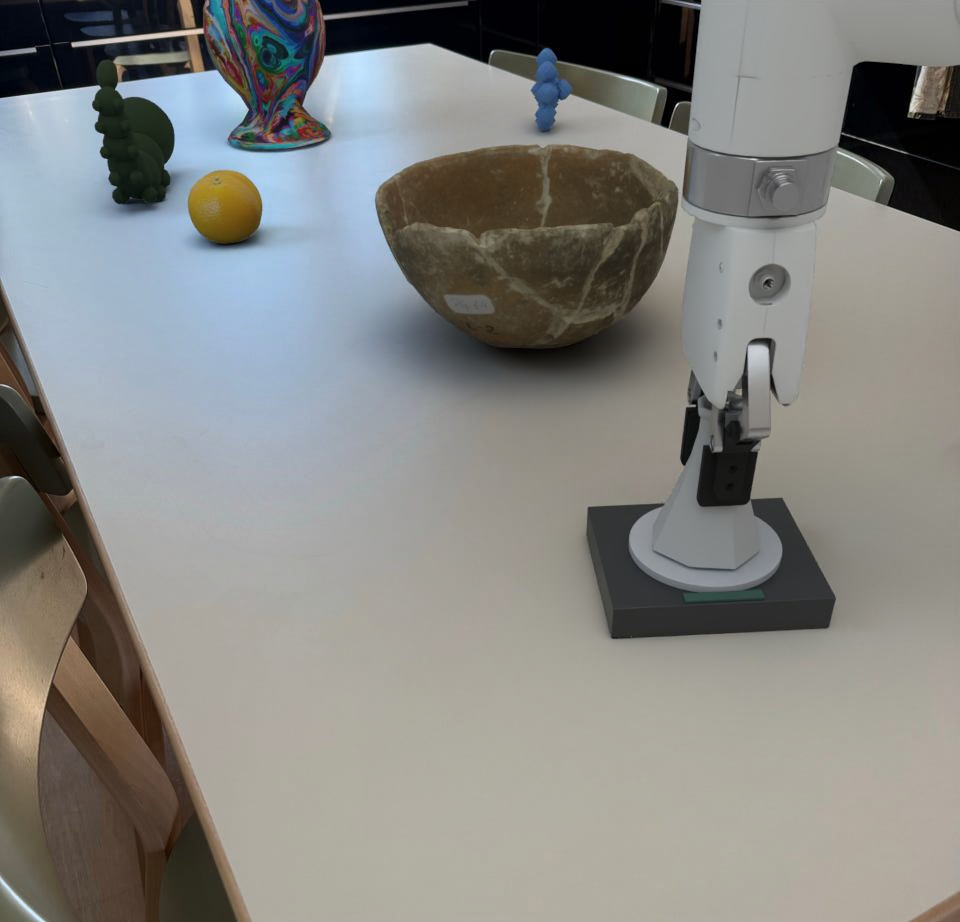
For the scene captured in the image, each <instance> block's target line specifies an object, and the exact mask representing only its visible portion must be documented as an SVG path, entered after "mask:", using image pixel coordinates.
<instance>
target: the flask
mask: <svg viewBox="0 0 960 922" xmlns="http://www.w3.org/2000/svg"><path fill="white" fill-rule="evenodd" d="M739 395H740V394H738V393H732V392H728V394H727V396H739ZM698 412H699V416H700V417H701V418H700V425H699V431H698V434H697V437H696V440H695V443H694V446H693V449H692V453H691V455H690V457H689V459H688V461H687V463H686V465H685V466H683V469H682V470H681V473H680V475H679V477H678V479H677V481H676V483H675V484H674V486H673V489H672V490H671V492H670V494H669V496H668V497H667V499H666V501H665V502H664V503H665V504H664V506H663V508H662V510H661V511H660V513H659V515H658V517H657V519H656V521H655V523H654V525H653V550H655V551H657V552H659V553H661V554H663V555H665V556H667V557H670V558H672V559H674V560H676V561H678V562H680V563H682V564H684V565H686V566H689V567H702V568H720V569H736V568H737V567H739V566H740V565H741V564H743V563H744V562H745V561H747V560H748V559H749V558H751V557H752V556H753V555H754V554H756V553H757V552H758V551H760V548H759V541H758V534H757V527H756V522H755V517H754V513H753V509H752V505H751V500H750V501H749V502H748V503H747V504H745V505H737V506H715V507H701V506H700V505H699V504H698V502H697V499H696V497H697V489H698V482H699V474H700V466H701V459H702V451H703V445H710V429H711V416H712V403H711V402H710V401H709V400H708V399H707V397H706V396H705V395H703V396H702V397H700V398H698ZM741 415H742V411H726V420H725V427H726V426H727V425H728V424H729V423H730V421H738V420H739V419H740V418H741Z"/></svg>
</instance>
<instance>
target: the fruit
mask: <svg viewBox="0 0 960 922" xmlns="http://www.w3.org/2000/svg"><path fill="white" fill-rule="evenodd" d="M263 207H264V206H263V200H262V196H261V193H260V191H259V189H258V187H257V186H256V185H255V183H254V182H253V181H252V180H251V179H250V178H249V177H247V175H245V174H243V173H241V172H239V171H235V170H229V169H219V170H214V171H211V172H209V173H207V174H205V175H204V176H202V177H201V178H200V179H199V180H197V181H196V182H195V183H194V184H193V186H192V187H191V188H190V191H189V193H188V197H187V209H188V215H189V218H190V221H191V223H192V225H193V226H194V228H195V230H196V231H197V232H198V233H199V234H200V236H203V237H204V238H205V239H207V240H209V241H211V242H214V243H217V244H222V245H223V244H224V245H225V244H236V243H239V242H242V241H244V240H247V239H249V238H250V237H252V236H253V235H254V234H255V233H256V231H257V230H259V228H260V225H261V220H262V216H263Z"/></svg>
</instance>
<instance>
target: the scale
mask: <svg viewBox="0 0 960 922" xmlns="http://www.w3.org/2000/svg"><path fill="white" fill-rule="evenodd" d="M750 500H751V505H752V509H753V513H754V517H755V522H756V527H757V534H758V541H759V548H760V551H758V552H757V553H756V554H754V555H753V556H752V557H751V558H749V559H748V560H747V561H745V562H744V563H743V564H741V565H740V566H739V567H737V568H736V569H720V568H702V567H689V566H686V565H684V564H682V563H680V562H678V561H676V560H674V559H672V558H670V557H667V556H665V555H663V554H661V553H659V552H657V551H655V550H653V525H654V523H655V521H656V519H657V517H658V515H659V513H660V511H661V510H662V508H663V506H664V504H665V503H666V502H660V503H659V502H658V503H638V504H637V503H636V504H615V505H598V506H597V505H596V506H588V507H587V512H586V513H587V514H586V531H585V534H586V539H587V544H588V548H589V553H590V556H591V560H592V565H593V569H594V573H595V576H596V581H597V585H598V589H599V594H600V598H601V601H602V605H603V610H604V615H605V618H606V622H608V623H607V626H608V630H609V635H610V634H611V635H610V638H611V637H618V638H617V639H621V638H620V637H629V638H645V637H644V636H649V637H666V636H667V635H669V636H686V635H706V634H707V635H708V634H725V633H726V634H727V632H728V633H745V632H746V633H747V632H748V633H749V632H767V631H786V630H787V631H788V630H801V629H802V630H803V629H805V630H808V629H825V628H830V624H831V620H832V617H833V612H834V608H835V604H836V601H837V597H836V595H835V592H833V589H832V587H831V585H830V584H829V582H828V580H827V579H826V576H825V575H824V573H823V570H822V569H821V567H820V565H819V563H818V561H817V559H816V558H815V556H814V554H813V552H812V550H811V548H810V546H809V545H808V543H807V541H806V539H805V537H804V535H803V534H802V531H801V530H800V528H799V526H798V524H797V522H796V521H795V519H794V516H793V515H792V513H791V511H790V510H789V507H788V505H787V503H786V502H785V500H784V498H783V497H767V498H766V497H764V498H750ZM703 633H704V634H703ZM683 634H685V635H683ZM662 635H664V636H662ZM631 636H632V637H631ZM639 636H640V637H639Z"/></svg>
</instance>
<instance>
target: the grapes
mask: <svg viewBox="0 0 960 922" xmlns="http://www.w3.org/2000/svg"><path fill="white" fill-rule="evenodd" d="M557 60H558V57H557V56H556V54H555V53H554V51H553V50H552V49H550V48H549V47H545V48H543V49H542V50H541V51H540V53H539V54H538V55H537V57H536V58H535V61H534V62H535V64H536V65H537V67H538V68H537V70H536V71H535V73H536V74H535V75H534V79H536V82H535V83H534V84H533V86H532V87H531V89H530V93H532V95H533V96H534V99H535V101H536V103H537V106H538V108H537V110H536V112H535V114H534V116H535V118H536V119H535V120H534V122H535V124H536V125H537V126H538V128H539V129H540V130H542V131H543V132H547V131H549V130H550V129H551V128H552V127H553V125H554V124H555V123H556V121H557V119H555V117H556V114H557V113H558V112H557V110H556V109H557V107H558V106H559V102H560V101H564V100H567V99H568V97H569V96H570V95H571V93H572V92H573V90H574V89H573V87H572V85H571V83H570V82H569V81H568V80H567V79H565V78H561V79H559V77H560V74H559V71H558V69H557V68H556V66H555V64H556V62H557Z"/></svg>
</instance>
